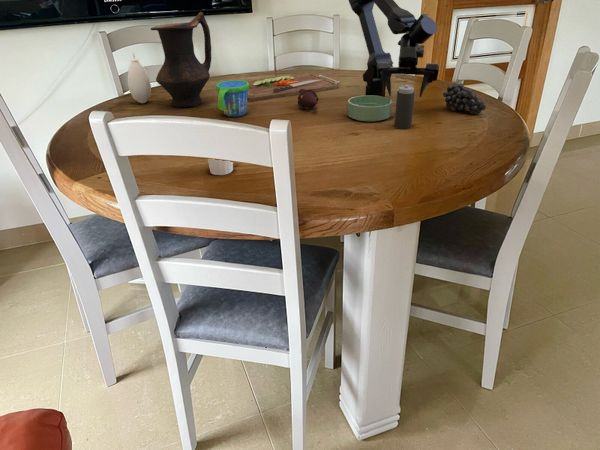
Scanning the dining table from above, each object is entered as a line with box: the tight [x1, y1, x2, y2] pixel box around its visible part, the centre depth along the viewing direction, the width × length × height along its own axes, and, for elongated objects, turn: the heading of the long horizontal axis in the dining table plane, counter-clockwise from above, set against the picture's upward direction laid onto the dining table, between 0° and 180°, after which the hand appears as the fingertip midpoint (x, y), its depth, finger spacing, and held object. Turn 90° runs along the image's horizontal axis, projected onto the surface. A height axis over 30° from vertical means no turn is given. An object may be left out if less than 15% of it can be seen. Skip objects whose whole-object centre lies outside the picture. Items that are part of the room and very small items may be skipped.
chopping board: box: [245, 72, 340, 102], centre depth 186 cm, size 45×27×3 cm, turn 117°
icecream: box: [296, 89, 320, 111], centre depth 157 cm, size 7×7×15 cm
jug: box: [150, 11, 212, 108], centre depth 161 cm, size 21×18×30 cm
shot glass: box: [207, 159, 234, 176], centre depth 112 cm, size 7×7×7 cm
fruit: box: [442, 82, 487, 115], centre depth 150 cm, size 9×8×15 cm
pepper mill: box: [394, 84, 415, 130], centre depth 137 cm, size 5×5×13 cm
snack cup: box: [215, 79, 249, 118], centre depth 153 cm, size 16×10×10 cm
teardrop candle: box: [127, 51, 152, 104], centre depth 167 cm, size 8×8×18 cm
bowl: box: [347, 95, 393, 122], centre depth 149 cm, size 14×14×5 cm
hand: (405, 95), depth 142 cm, fingers open, 9 cm apart
